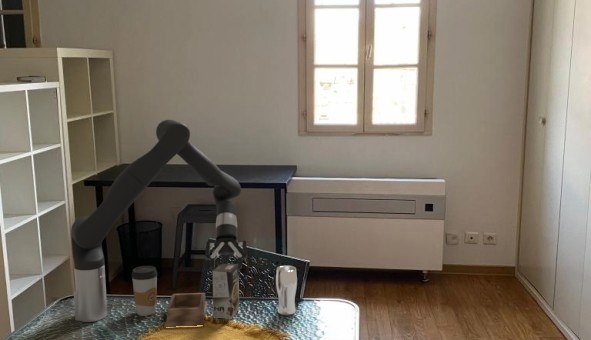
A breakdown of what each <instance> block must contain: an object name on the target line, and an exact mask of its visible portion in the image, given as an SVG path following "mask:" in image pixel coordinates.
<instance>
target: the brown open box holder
mask: <svg viewBox="0 0 591 340" xmlns="http://www.w3.org/2000/svg"><path fill="white" fill-rule="evenodd" d="M207 303H208V300H206V292H196V293H195V292H193V293H191V292H190V293H189V292H188V293H172V295H171V297H170V300H169V302H168V306H167V308H166V319H165V323H164V327H163V328H166V327H176V326H197V325H203V323H204V324H205V320H204V317H205V318H206V315H205V314H207V309H208V304H207Z"/></svg>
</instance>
